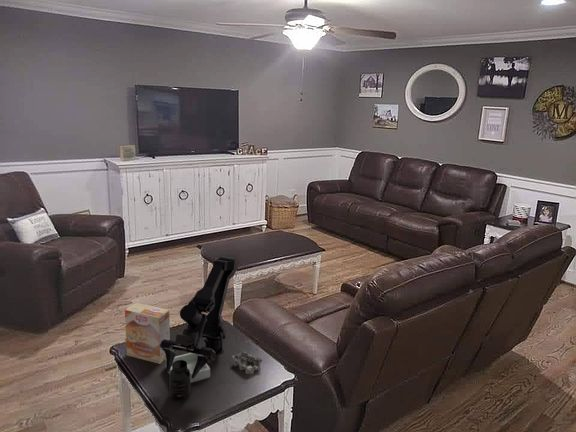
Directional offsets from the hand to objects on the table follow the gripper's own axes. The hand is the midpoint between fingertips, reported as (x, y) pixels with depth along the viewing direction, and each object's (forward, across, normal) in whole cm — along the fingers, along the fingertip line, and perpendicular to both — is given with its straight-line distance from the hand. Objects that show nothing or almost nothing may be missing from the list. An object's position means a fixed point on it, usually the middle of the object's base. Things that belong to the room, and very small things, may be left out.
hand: (179, 375), depth 144 cm
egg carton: (-10, +16, +22) cm, 29 cm away
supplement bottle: (+5, 0, +6) cm, 8 cm away
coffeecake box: (-7, -22, +18) cm, 29 cm away
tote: (-3, -3, +14) cm, 15 cm away
